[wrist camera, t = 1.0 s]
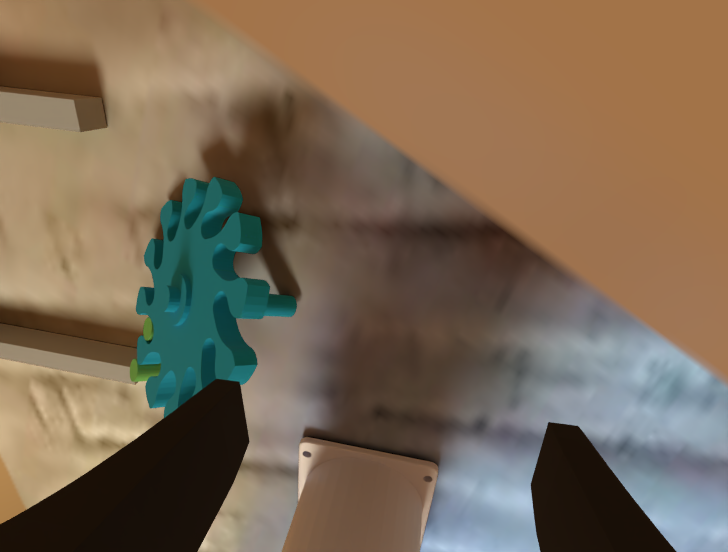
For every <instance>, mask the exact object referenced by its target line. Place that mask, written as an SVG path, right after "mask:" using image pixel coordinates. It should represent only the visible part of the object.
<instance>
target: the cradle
mask: <svg viewBox="0 0 728 552" xmlns="http://www.w3.org/2000/svg"><path fill="white" fill-rule="evenodd" d="M0 122H2V123H10V124H18V125H27V126H35V127H43V128H51V129H59V130H67V131H76V132H84V131H90V130H95V129H101V128H107V124H106V119H105V114H104V108H103V103H102V98H101V97H92V96H83V95H74V94H65V93H56V92H47V91H38V90H29V89H20V88H11V87H2V86H0ZM0 358H1V359H6V360H11V361H16V362H21V363H27V364H32V365H37V366H42V367H47V368H52V369H57V370H62V371H67V372H73V373H78V374H83V375H88V376H93V377H98V378H103V379H108V380H113V381H119V382H124V383H129V384H134V385H135V384H136V383H137V382H132V381H131V379H130V365H131V362H132V360H133V359H137V348H132V347H127V346H121V345H116V344H110V343H105V342H99V341H94V340H89V339H83V338H78V337H72V336H67V335H62V334H56V333H51V332H45V331H40V330H35V329H29V328H24V327H18V326H13V325H7V324H2V323H0Z"/></svg>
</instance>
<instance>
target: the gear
mask: <svg viewBox="0 0 728 552" xmlns="http://www.w3.org/2000/svg"><path fill="white" fill-rule="evenodd" d="M242 201H243V198H242V194H241V191H240V189H239V188H238V186H237V185H236V184H235V183H234V182H231V181H228V180H224V179H221V178H217V177H213V178H212V180H211V181H210V183H207V182H203V181H199V180H196V179H191V178H189V179H186V180H185V182H184V186H183V192H182V202H178V201H173V200H170V201H168V202H167V203H166V204H165V205H164V206H163V208H162V209H161V215H160V220H161V224H162V228H163V236H164V240H159V239H151V240H150V242H149V244H148V246H147V249H146V252H145V255H144V261H145V264H146V266H148V267H149V269H150V271H151V273H152V276H153V282H154V288H150V287H140V290H139V293H138V298H137V304H136V312H137V314H139V315H148V316H149V317H148V318H147V319H146V320H145V323H144V328H143V335H144V336H140V337H139V338H138V342H137V359H133V360H132V362H131V365H130V379H131V381H132V382H138V381H147V383H146V386H145V387H146V395H147V400H148V403H149V407H150V408H158V407H165V410H164V418H165V417H166V416H168V415H169V414H170V413H172V412H173V411H174V410H176V409H177V408H178V407H180V406H181V405H182V404H183V403H185V402H186V401H187V400H189V399H190V398H191V397H193V396H194V395H195V394H197V393H198V392H199V391H200V390H202V389H203V388H204V387H206V386H207V385H208V384H210V383H211V382H213V381H214V380H215V379H223V380H231V381H238V382H240V385H243V384H245V383H246V382H247V381H248V380H249V379H250V377H251V376H252V374H253V372H254V370H255V369H256V367H257V358H256V354H255V352H254V350H253V349H252V348H251V347H249V346H248V345H247V344H246V343H245V342H244V340H243V338H242V337H241V334H240V332H239V329H238V326H237V322H236V318H243V319H262V318H263V316H282V317H291V316H293V315H294V314H295V312H296V307H297V303H296V300H295V298H294V297H293V296H288V295H276V294H269V290H270V286H269V284H268V283H267V282H266V281H264V280H258V279H249V278H240V277H239V276H238V275H237V274H236V273H235V271H234V268H233V259H234V255H235V253H236V251H237V252H243V253H250V254H256V253H257V252H258V251H259V250H260V249H261V247H262V227H261V221H260V217H255V216H251V215H247V214H242V213H238V211H239V209H240V207H241V204H242ZM228 216H230V217H229V219H228V221H227V223H226V225H225V226H224V228H223V229H222V225H223V222H224V220H225V219H226V218H227V217H228ZM221 229H222V230H221Z"/></svg>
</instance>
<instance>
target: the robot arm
mask: <svg viewBox="0 0 728 552" xmlns="http://www.w3.org/2000/svg"><path fill="white" fill-rule="evenodd" d="M248 444H249V436H248V430H247V424H246V418H245V411H244V405H243V399H242V393H241V387H240V382H238V381H231V380H223V379H215V380H214V381H213V382H211V383H210V384H208V385H207V386H206V387H204V388H203V389H202V390H200V391H199V392H198V393H197V394H195V395H194V396H193V397H191V398H190V399H189V400H187V401H186V402H185V403H183V404H182V405H181V406H180V407H178V408H177V409H176V410H174V411H173V412H172V413H170V414H169V415H168V416H166V417H165V418H164V419H162V420H161V421H160V422H158V423H157V424H156V425H154V426H153V427H151V428H150V429H149V430H147V431H146V432H145V433H143V434H142V435H141V436H139V437H138V438H137V439H135V440H134V441H132V442H131V443H129V444H128V445H127V446H125V447H124V448H122V449H121V450H119V451H118V452H116V453H115V454H113V455H112V456H111V457H109V458H108V459H106V460H105V461H103V462H102V463H100V464H99V465H97V466H96V467H95V468H93V469H92V470H90V471H89V472H87V473H86V474H84V475H83V476H81V477H80V478H78V479H76V480H75V481H73V482H72V483H70V484H68V485H67V486H65V487H64V488H62V489H61V490H59V491H57V492H56V493H54V494H52V495H51V496H49V497H47V498H46V499H44V500H42V501H41V502H39V503H37V504H36V505H34V506H32V507H30V508H29V509H27V510H25V511H24V512H22V513H20V514H18V515H17V516H15V517H13V518H11V519H10V520H7V521H6V522H4V523H2V524H0V552H197V551H198V549H199V547H200V546H201V544H202V542H203V540H204V538H205V536H206V534H207V532H208V530H209V529H210V527H211V525H212V523H213V521H214V519H215V517H216V515H217V513H218V512H219V510H220V508H221V506H222V504H223V502H224V500H225V498H226V496H227V494H228V492H229V490H230V488H231V486H232V484H233V482H234V480H235V478H236V475H237V473H238V470H239V468H240V465H241V463H242V460H243V457H244V454H245V452H246V449H247V446H248ZM437 477H438V466H437V465H436V464H435V463H433V462H430V461H425V460H420V459H415V458H410V457H405V456H400V455H395V454H390V453H385V452H380V451H375V450H370V449H365V448H360V447H355V446H350V445H345V444H340V443H335V442H330V441H325V440H320V439H315V438H310V437H305V438H302V439H301V442H300V444H299V475H298V505H297V508H296V511H295V514H294V517H293V520H292V523H291V526H290V529H289V532H288V534H287V537H286V540H285V543H284V546H283V549H282V552H420V547H421V543H422V539H423V535H424V531H425V527H426V522H427V518H428V514H429V510H430V506H431V502H432V498H433V494H434V489H435V485H436V481H437ZM531 491H532V500H533V510H534V518H535V525H536V533H537V538H538V542H539V547H540V551H541V552H676V551H675V550H674V548H673V547H672V546H671V545H670V544H669V542H668V541H667V540H666V539H665V538H664V536H663V535H662V534H661V533H660V531H659V530H658V529H657V528H656V526H655V525H654V524H653V523H652V521H651V520H650V519H649V518H648V517H647V515H646V514H645V513H644V512H643V510H642V509H641V508H640V507H639V505H638V504H637V503H636V502H635V500H634V499H633V498H632V496H631V495H630V494H629V493H628V491H627V490H626V489H625V487H624V486H623V485H622V483H621V482H620V481H619V480H618V478H617V477H616V476H615V474H614V473H613V472H612V470H611V469H610V468H609V466H608V465H607V464H606V462H605V461H604V460H603V458H602V457H601V456H600V454H599V453H598V452H597V450H596V449H595V448H594V446H593V445H592V443H591V442H590V441H589V439H588V438H587V437H586V435H585V434H584V433H583V431H582V430H581V429H580V428H579V427H578V426H574V425H566V424H559V423H551V422H548V426H547V429H546V433H545V436H544V440H543V443H542V447H541V450H540V454H539V457H538V461H537V464H536V468H535V471H534V475H533V478H532V482H531Z"/></svg>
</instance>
